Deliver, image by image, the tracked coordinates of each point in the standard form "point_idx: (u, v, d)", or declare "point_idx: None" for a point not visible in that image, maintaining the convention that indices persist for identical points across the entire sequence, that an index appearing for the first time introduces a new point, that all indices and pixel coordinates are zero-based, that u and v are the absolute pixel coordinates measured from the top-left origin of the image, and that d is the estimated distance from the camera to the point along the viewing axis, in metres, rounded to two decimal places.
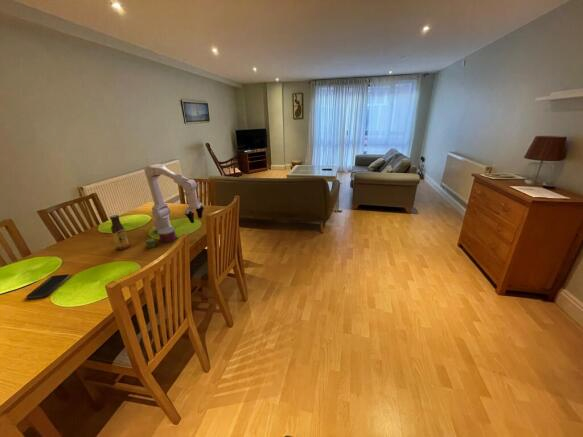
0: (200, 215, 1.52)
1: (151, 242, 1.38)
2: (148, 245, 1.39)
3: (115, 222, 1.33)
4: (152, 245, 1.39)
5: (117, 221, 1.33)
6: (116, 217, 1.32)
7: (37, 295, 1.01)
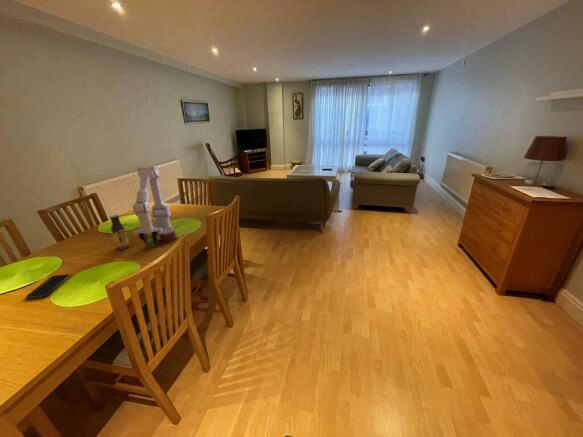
0: None
1: (151, 242, 1.38)
2: (148, 245, 1.39)
3: (115, 222, 1.33)
4: (152, 245, 1.39)
5: (117, 221, 1.33)
6: (116, 217, 1.32)
7: (37, 295, 1.01)
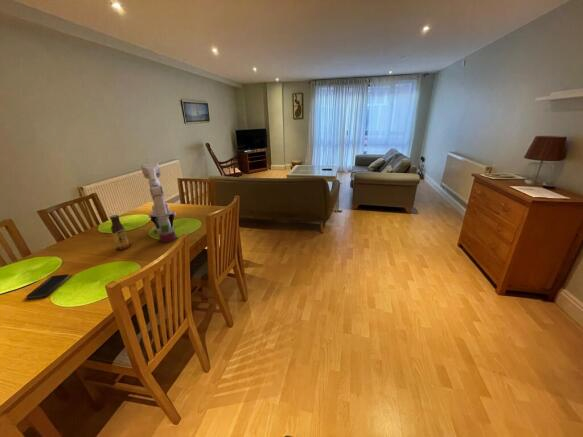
0: None
1: (165, 226, 1.44)
2: (162, 229, 1.44)
3: (115, 222, 1.33)
4: (166, 229, 1.45)
5: (117, 221, 1.33)
6: (116, 217, 1.32)
7: (37, 295, 1.01)
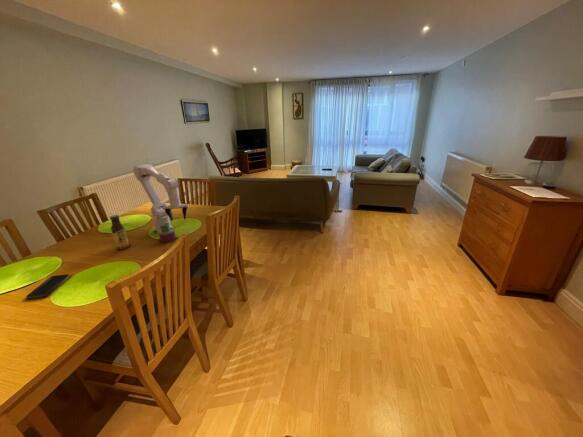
0: None
1: (165, 226, 1.44)
2: (162, 229, 1.44)
3: (115, 222, 1.33)
4: (166, 229, 1.45)
5: (117, 221, 1.33)
6: (116, 217, 1.32)
7: (37, 295, 1.01)
